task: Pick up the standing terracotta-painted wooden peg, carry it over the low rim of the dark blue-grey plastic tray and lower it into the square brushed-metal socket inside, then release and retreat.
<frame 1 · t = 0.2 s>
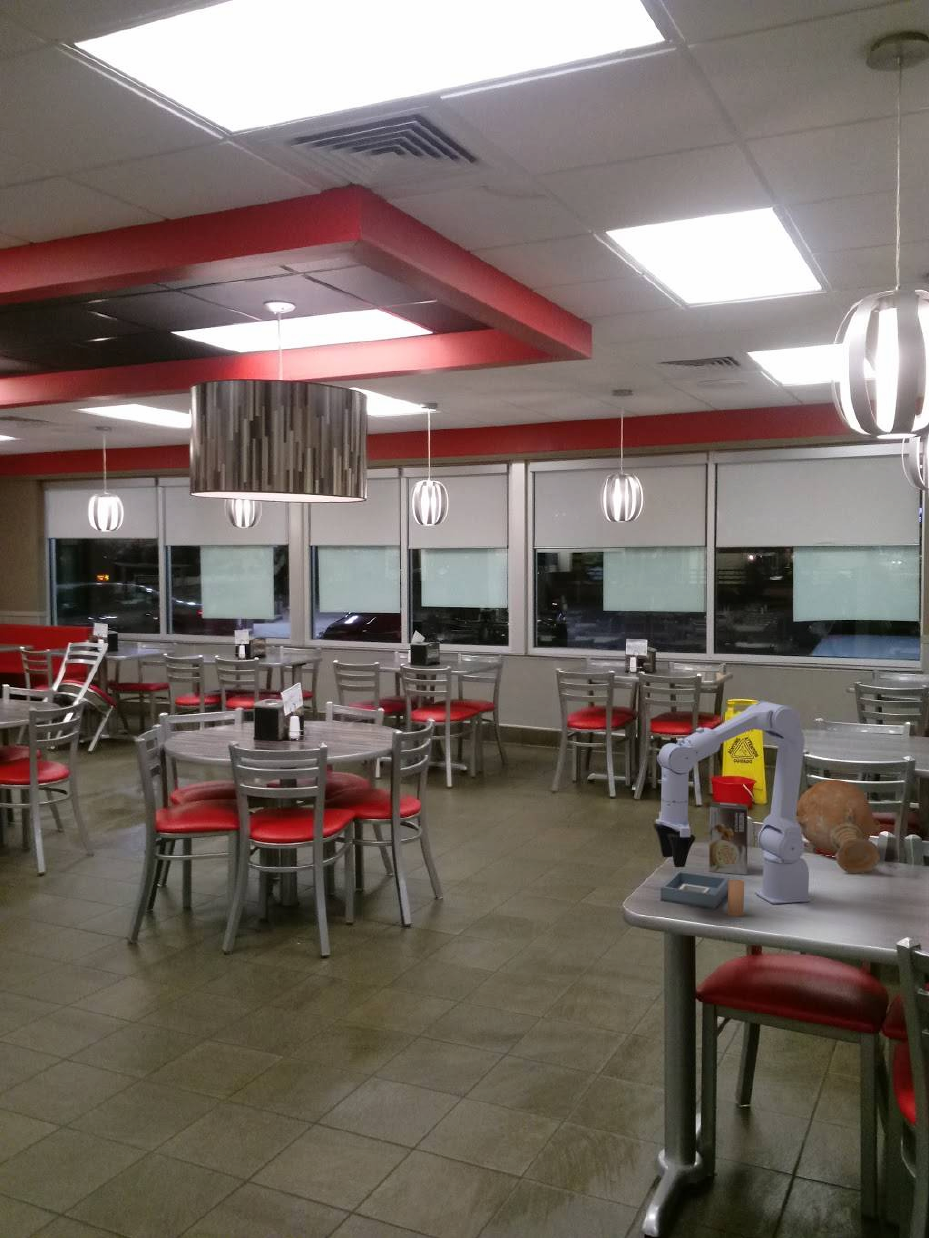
hand: (673, 861, 224), 10 cm above the table, fingers open, 7 cm apart
tray box: (695, 895, 232), on the table
jug: (838, 859, 264), on the table
coffee box: (727, 870, 252), on the table
peg: (735, 914, 220), on the table
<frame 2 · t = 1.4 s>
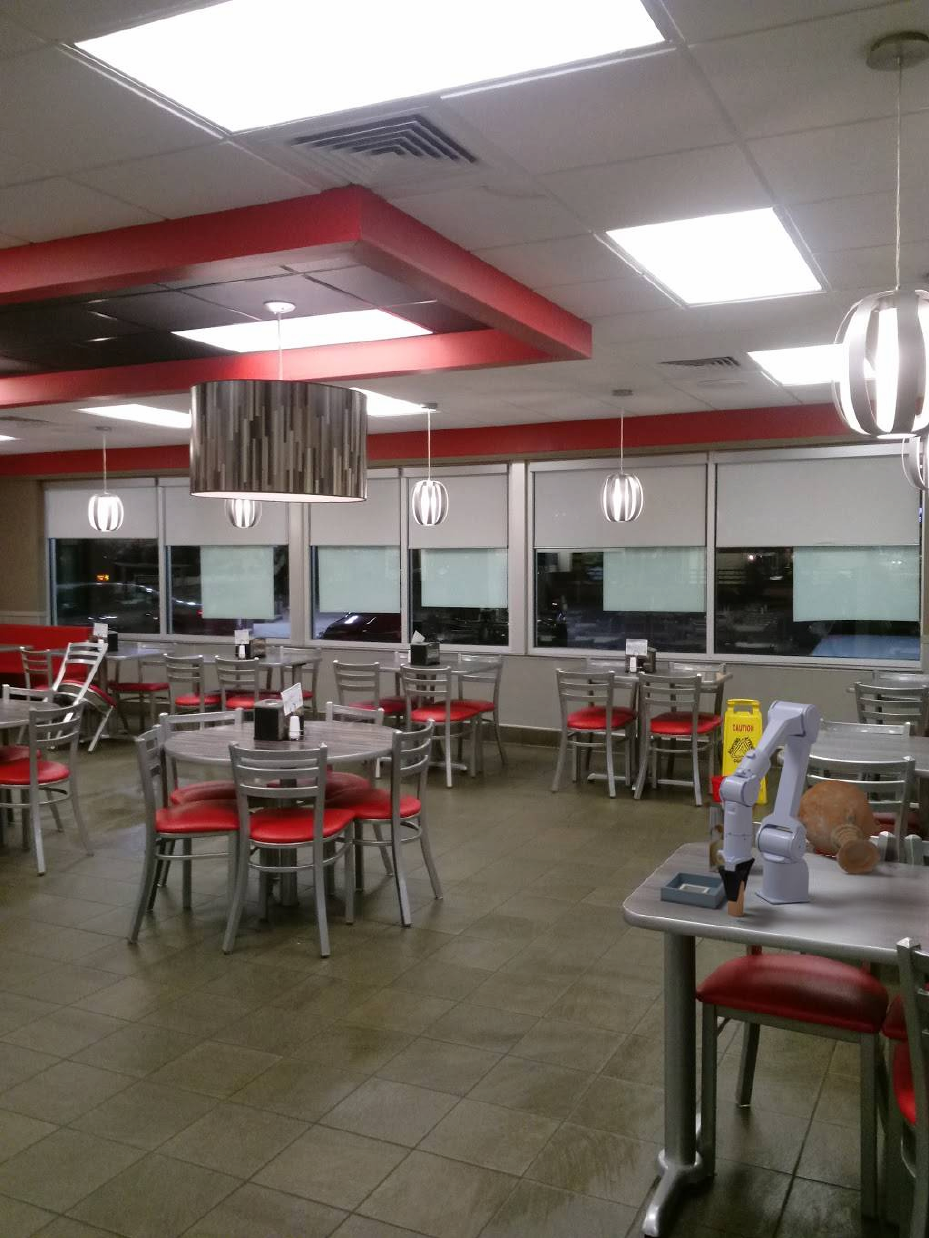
hand: (735, 895, 220), 4 cm above the table, fingers open, 7 cm apart
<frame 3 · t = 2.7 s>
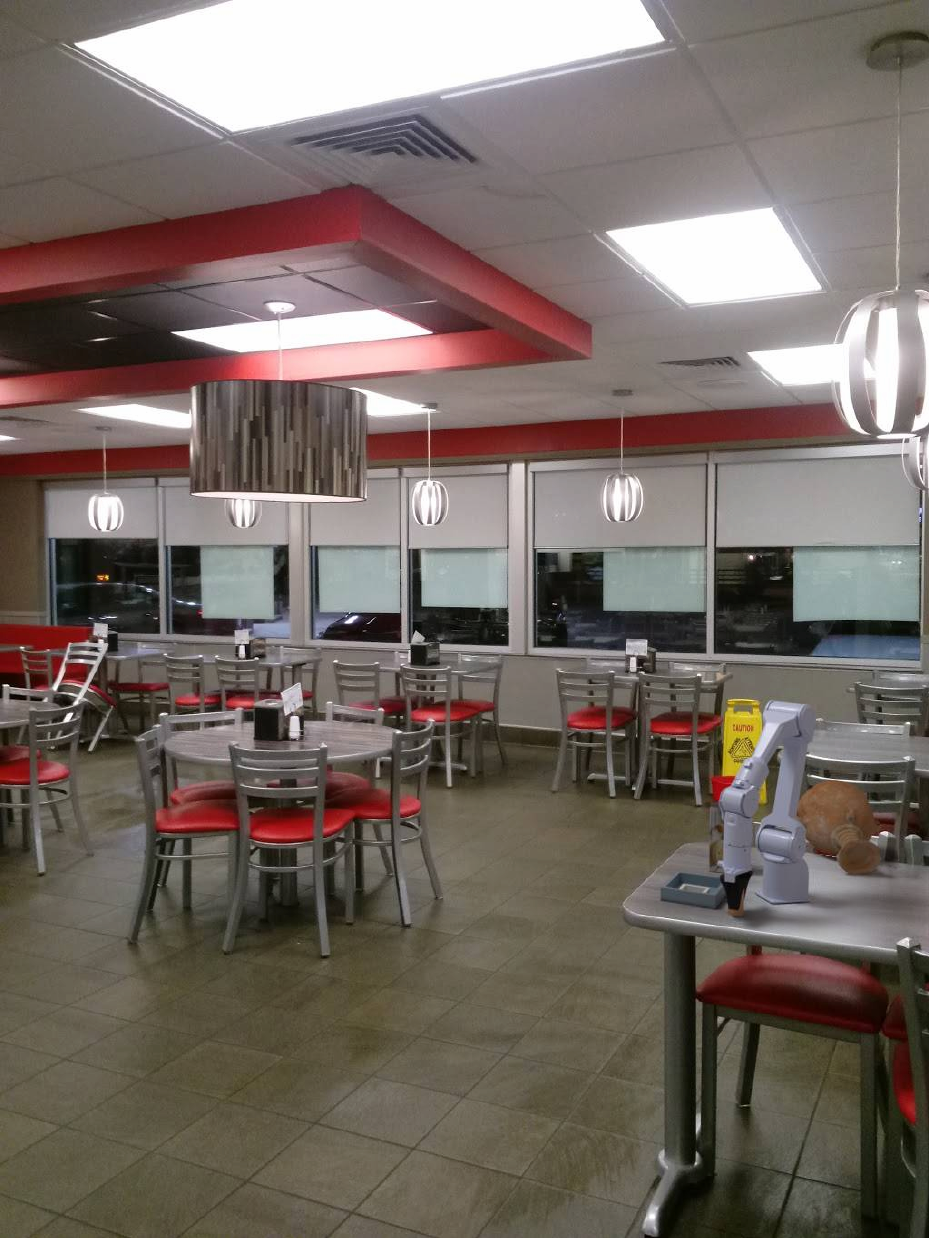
hand: (735, 906, 220), 2 cm above the table, fingers closed on peg, 3 cm apart
peg: (735, 914, 220), on the table, touching gripper
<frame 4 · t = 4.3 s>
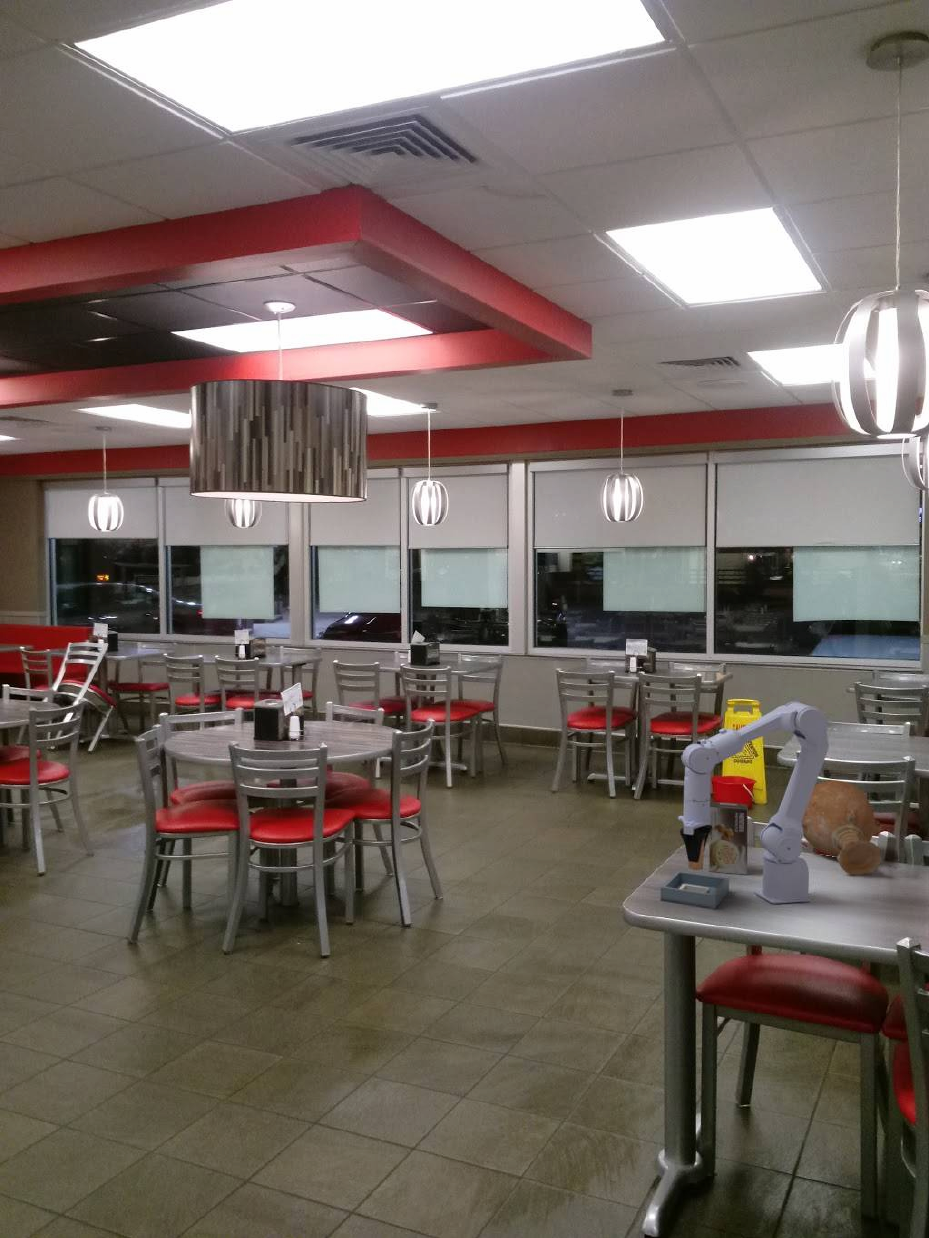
hand: (695, 859, 229), 9 cm above the table, fingers closed on peg, 3 cm apart
peg: (695, 867, 229), point 7 cm above the table, touching gripper
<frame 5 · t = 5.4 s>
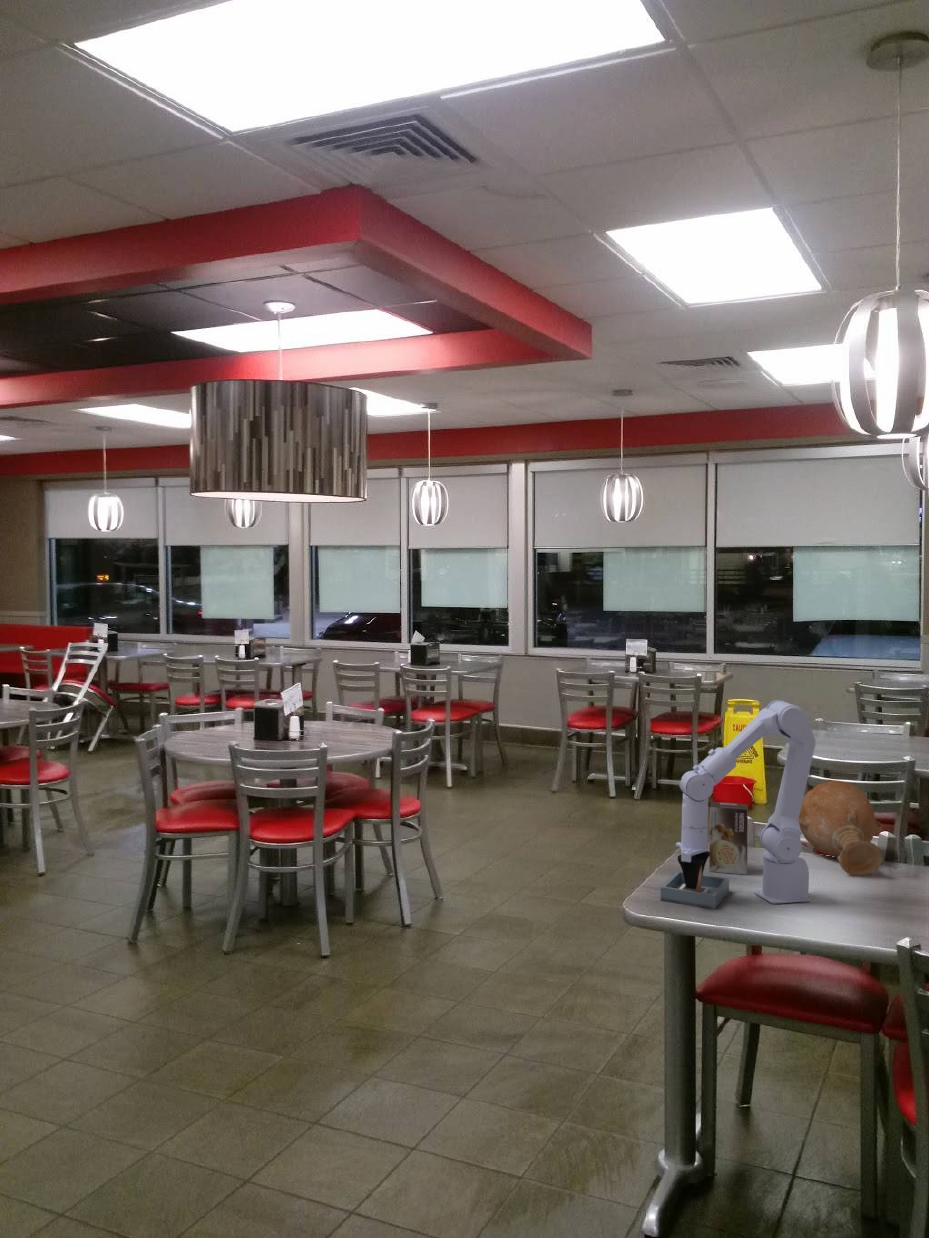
hand: (693, 885, 230), 3 cm above the table, fingers closed on peg, 3 cm apart
peg: (693, 894, 230), point 1 cm above the table, touching gripper
when the fingers open (3 cm above the table, at t = 6.1 s): peg stays where it is, resting on tray box.
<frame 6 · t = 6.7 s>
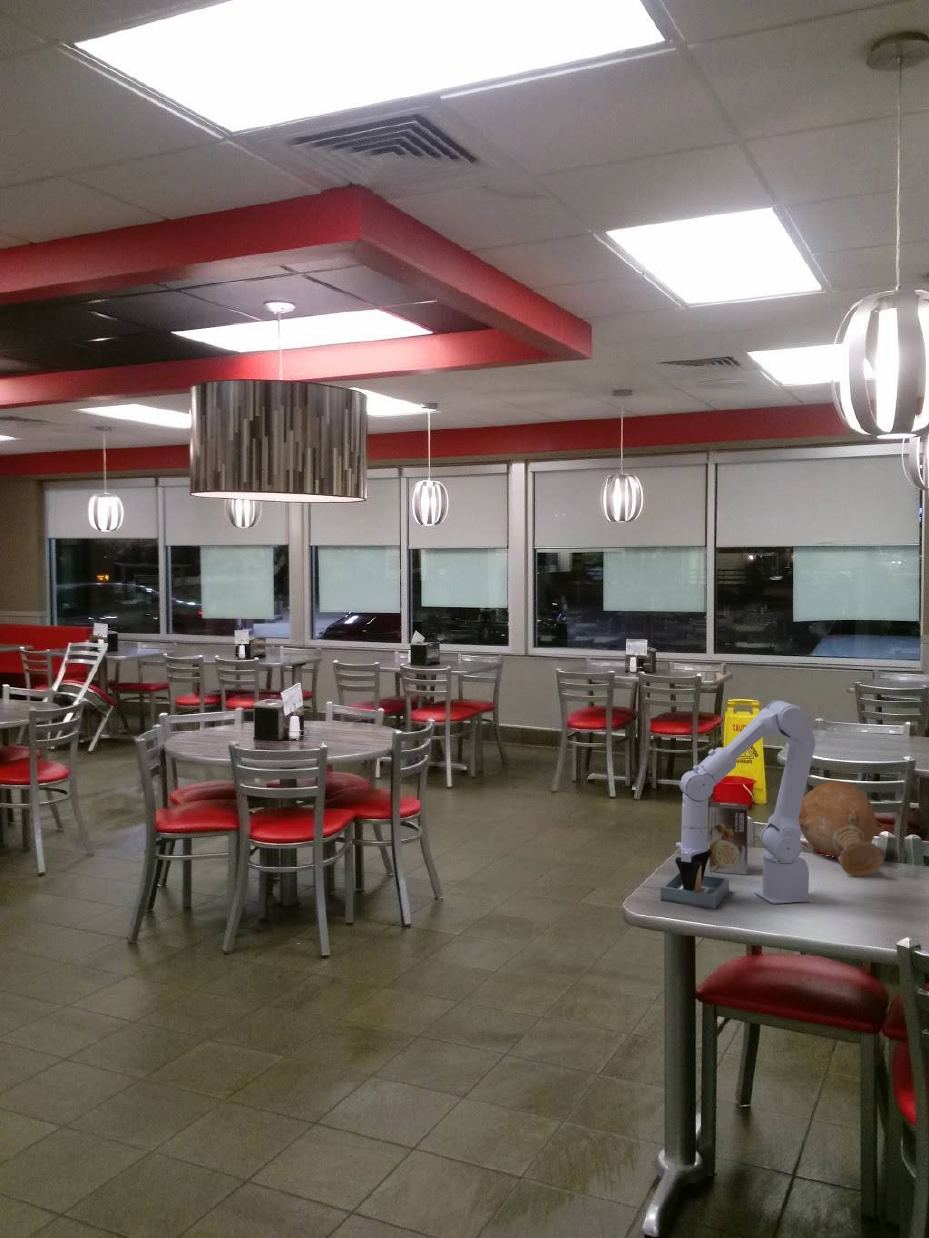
hand: (693, 885, 230), 3 cm above the table, fingers open, 7 cm apart
peg: (693, 895, 230), point 1 cm above the table, touching tray box
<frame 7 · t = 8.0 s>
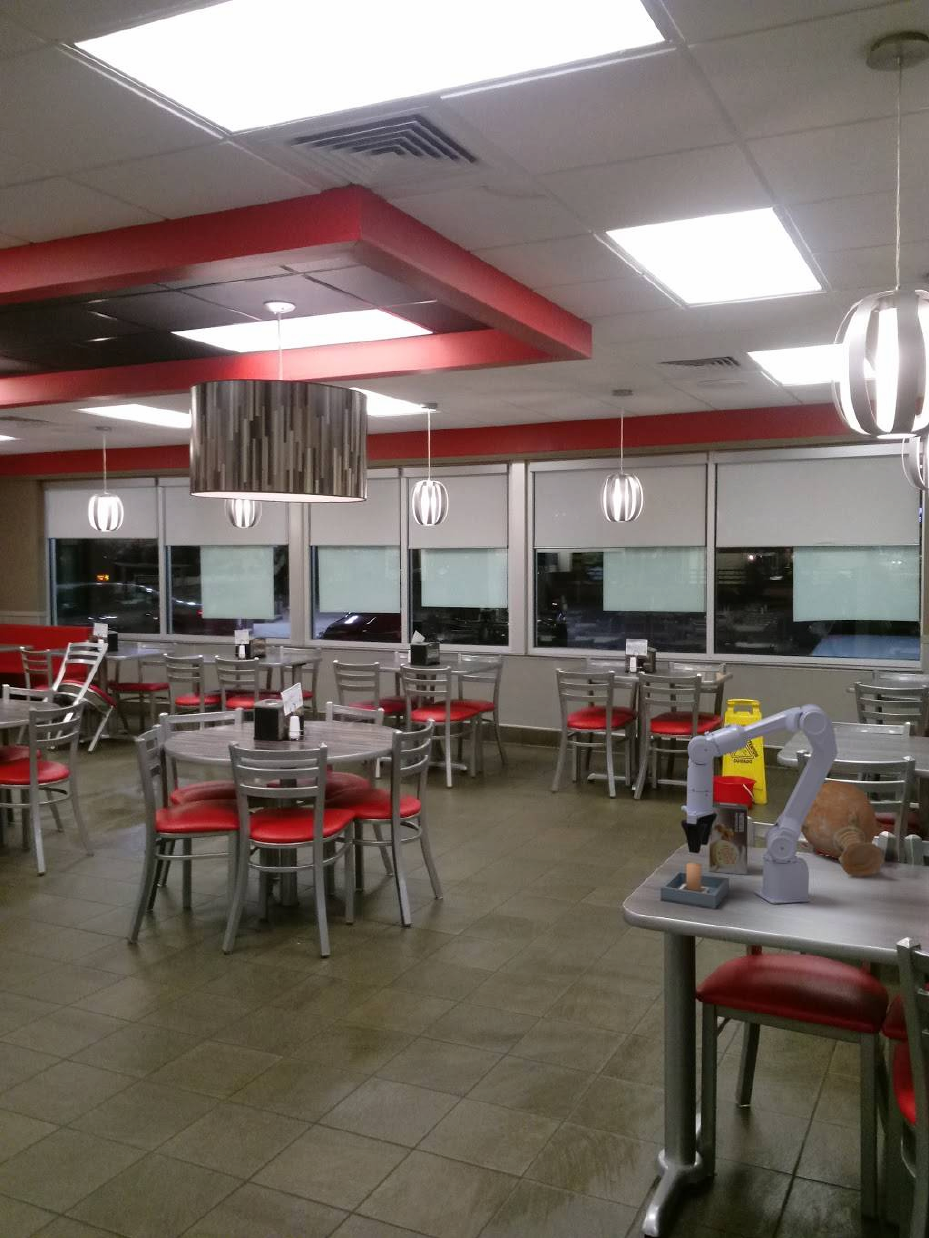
hand: (698, 848, 235), 10 cm above the table, fingers open, 7 cm apart
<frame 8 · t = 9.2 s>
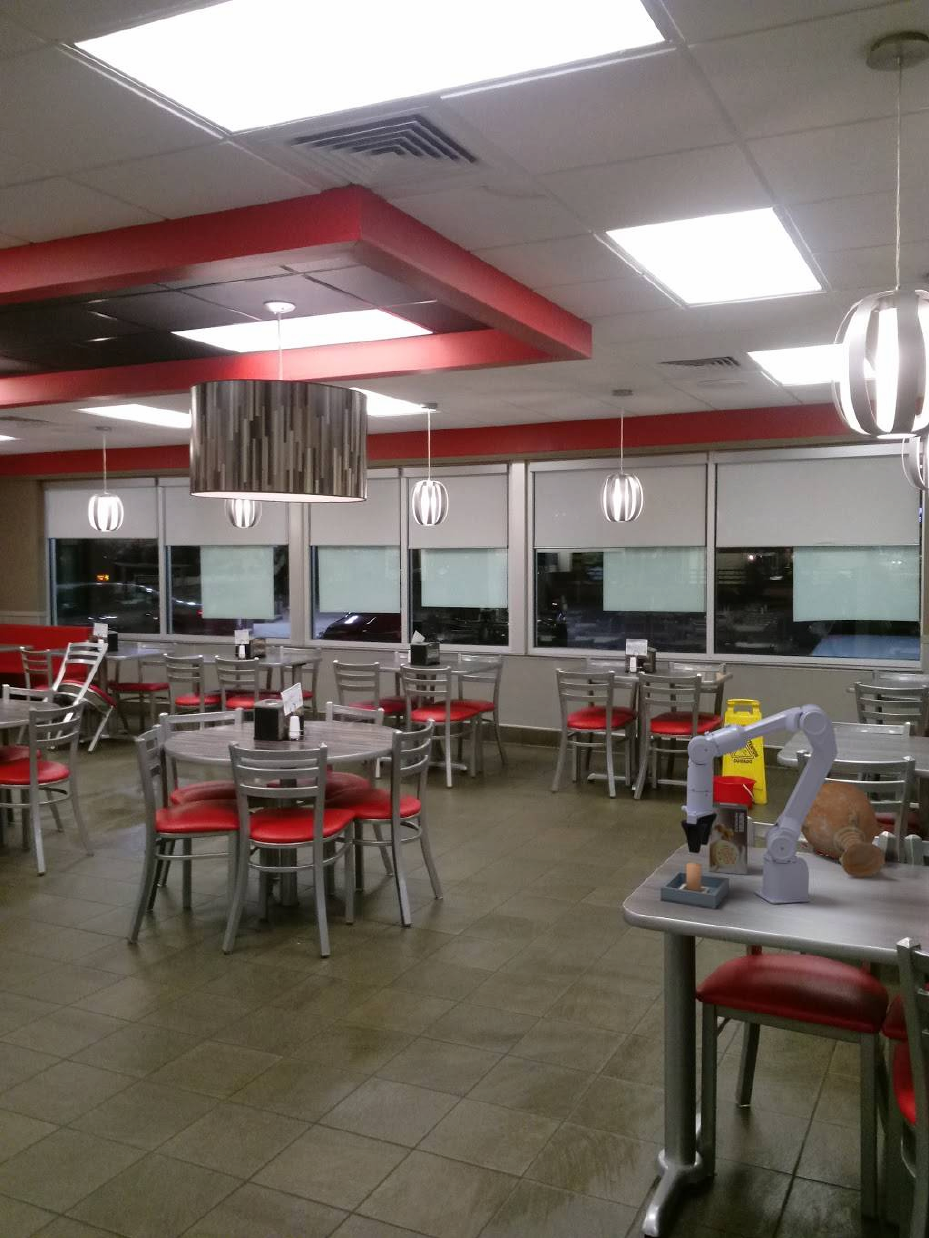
hand: (698, 848, 235), 10 cm above the table, fingers open, 7 cm apart
at the end: peg 0.1 cm from the target spot, point 0.6 cm above the table; peg tilted 0°; the gripper is holding nothing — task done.
